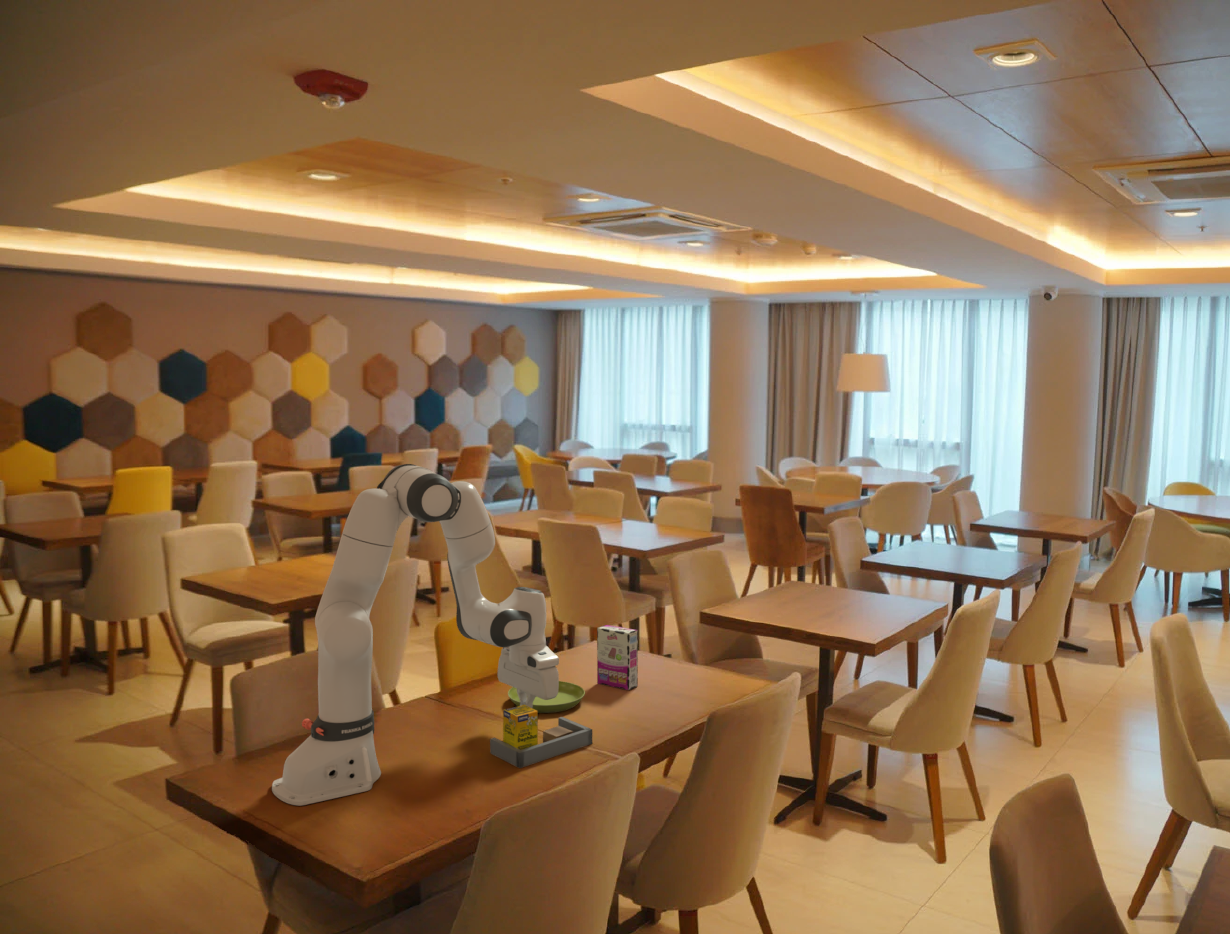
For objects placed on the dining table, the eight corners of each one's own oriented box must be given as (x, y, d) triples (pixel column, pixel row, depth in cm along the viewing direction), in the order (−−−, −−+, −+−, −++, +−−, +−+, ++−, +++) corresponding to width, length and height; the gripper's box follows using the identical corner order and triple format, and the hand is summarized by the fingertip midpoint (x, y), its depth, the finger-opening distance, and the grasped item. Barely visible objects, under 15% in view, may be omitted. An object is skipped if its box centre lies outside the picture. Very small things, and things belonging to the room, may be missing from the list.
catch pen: (519, 768, 208) (519, 753, 208) (490, 753, 217) (490, 738, 217) (592, 743, 223) (592, 729, 222) (562, 730, 231) (562, 716, 231)
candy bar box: (638, 686, 265) (638, 629, 264) (628, 691, 261) (628, 633, 260) (606, 679, 271) (606, 623, 270) (596, 683, 267) (596, 627, 266)
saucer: (555, 722, 238) (555, 710, 237) (492, 707, 248) (491, 695, 248) (599, 699, 255) (599, 687, 255) (538, 686, 266) (538, 675, 266)
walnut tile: (556, 749, 220) (556, 736, 220) (543, 743, 224) (543, 731, 223) (572, 743, 224) (572, 731, 223) (558, 737, 227) (558, 725, 227)
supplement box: (516, 763, 211) (516, 716, 210) (502, 755, 216) (502, 709, 215) (538, 756, 215) (538, 710, 214) (524, 749, 220) (523, 703, 219)
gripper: (492, 645, 234) (490, 699, 235) (543, 664, 219) (541, 721, 221) (512, 641, 239) (511, 694, 240) (563, 659, 224) (562, 716, 225)
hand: (526, 707), depth 230 cm, fingers closed
